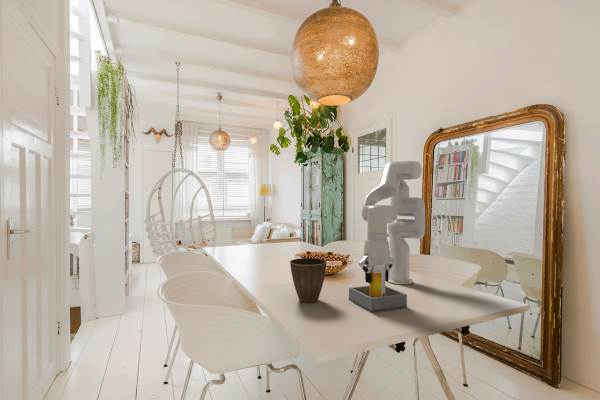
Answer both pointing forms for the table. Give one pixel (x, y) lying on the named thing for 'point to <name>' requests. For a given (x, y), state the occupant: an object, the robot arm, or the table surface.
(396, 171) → the robot arm
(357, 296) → the box
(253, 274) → the table surface
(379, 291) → the beer can
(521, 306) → the table surface
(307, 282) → the plant pot
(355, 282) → the table surface
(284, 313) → the table surface
